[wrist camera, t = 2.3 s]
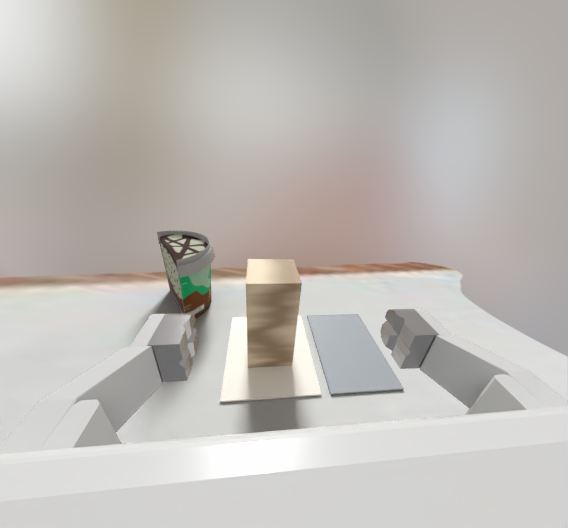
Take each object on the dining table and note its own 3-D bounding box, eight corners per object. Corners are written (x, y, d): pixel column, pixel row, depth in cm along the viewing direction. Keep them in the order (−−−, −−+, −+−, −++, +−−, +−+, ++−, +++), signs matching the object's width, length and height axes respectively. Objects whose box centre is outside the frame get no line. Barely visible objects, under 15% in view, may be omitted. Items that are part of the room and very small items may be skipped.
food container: (232, 312, 33) (228, 251, 28) (189, 328, 30) (177, 262, 25) (203, 276, 42) (197, 225, 37) (168, 286, 38) (156, 230, 34)
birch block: (247, 367, 24) (246, 283, 20) (249, 334, 29) (248, 259, 24) (292, 365, 25) (301, 283, 20) (287, 333, 30) (293, 259, 25)
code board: (220, 402, 21) (219, 400, 21) (232, 318, 32) (232, 317, 32) (403, 389, 24) (403, 388, 23) (357, 315, 34) (358, 314, 34)
